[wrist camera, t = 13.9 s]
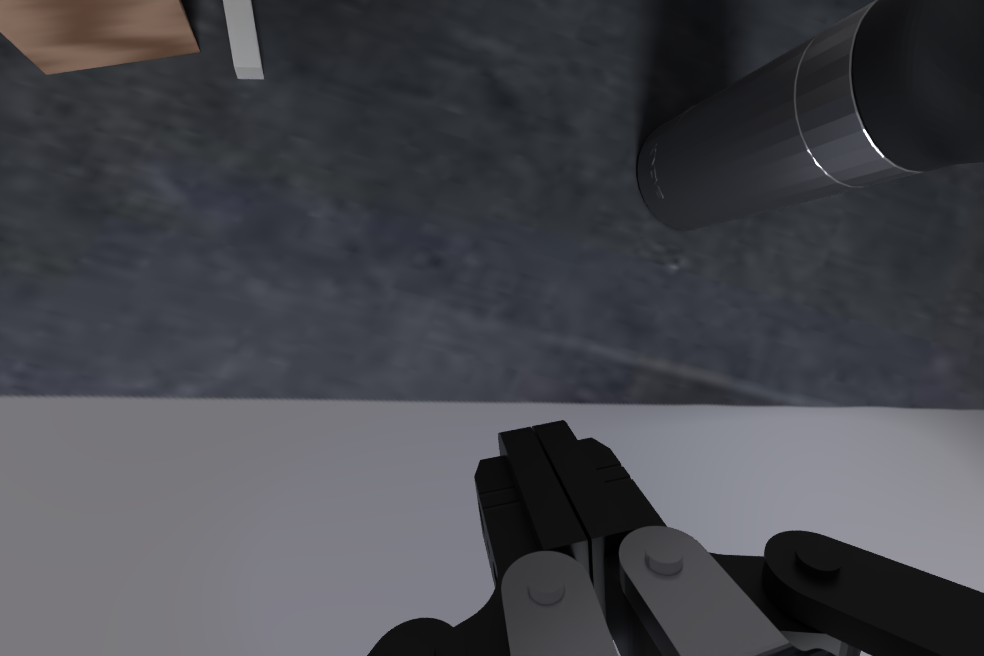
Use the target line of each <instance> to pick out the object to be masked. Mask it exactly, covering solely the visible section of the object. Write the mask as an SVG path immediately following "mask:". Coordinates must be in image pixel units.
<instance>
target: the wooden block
mask: <svg viewBox="0 0 984 656" xmlns="http://www.w3.org/2000/svg"><path fill="white" fill-rule="evenodd" d="M0 32H1V33H2V34H3V35H4V36H5V37H6V38H7V39H8V40H9V41H11V42H12V43H13V44H14V45H15V46H16V47H17V48H18V49H19V50H20V51H21V52H22V53H23V54H25V55H26V56H27V57H28V58H29V59H30V60H31V61H32V62H33V63H34V64H35V65H36V66H37V67H39V68H40V69H41V70H42V71H43V72H44V73H45V74H46V75H47V74H54V73H61V72H68V71H74V70H81V69H88V68H95V67H101V66H108V65H115V64H122V63H129V62H135V61H142V60H149V59H156V58H162V57H169V56H176V55H183V54H190V53H196V52H200V50H199V47H198V45H197V42H196V39H195V37H194V34H193V31H192V29H191V26H190V23H189V21H188V18H187V15H186V13H185V10H184V7H183V5H182V2H181V0H0Z"/></svg>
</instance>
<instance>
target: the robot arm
mask: <svg viewBox="0 0 984 656" xmlns="http://www.w3.org/2000/svg"><path fill="white" fill-rule="evenodd" d="M977 162H984V0H876V1H874V2H872V3H871V4H869V5H867V6H865V7H864V8H862V9H860V10H859V11H857V12H855V13H853V14H852V15H850V16H848V17H846V18H845V19H843V20H841V21H840V22H838V23H836V24H834V25H833V26H831V27H829V28H828V29H826V30H824V31H823V32H821V33H819V34H818V35H816V36H814V37H812V38H811V39H809V40H807V41H806V42H804V43H802V44H800V45H799V46H797V47H795V48H793V49H792V50H790V51H788V52H787V53H785V54H783V55H781V56H780V57H778V58H776V59H774V60H773V61H771V62H769V63H768V64H766V65H764V66H762V67H761V68H759V69H757V70H755V71H754V72H752V73H750V74H749V75H747V76H745V77H743V78H742V79H740V80H738V81H736V82H735V83H733V84H731V85H730V86H728V87H726V88H724V89H723V90H721V91H719V92H717V93H716V94H714V95H712V96H711V97H709V98H707V99H705V100H704V101H702V102H700V103H698V104H697V105H695V106H693V107H691V108H690V109H688V110H686V111H684V112H683V113H681V114H679V115H678V116H676V117H674V118H673V119H671V120H669V121H667V122H666V123H664V124H662V125H661V126H659V127H657V128H656V129H655V130H654V131H653V132H652V133H651V134H650V135H649V136H648V137H647V139H646V141H645V142H644V144H643V146H642V149H641V152H640V155H639V160H638V181H639V186H640V191H641V193H642V196H643V198H644V201H645V203H646V204H647V206H648V207H649V209H650V211H651V212H652V213H653V214H654V215H655V216H656V217H657V218H658V219H659V220H660V221H661V222H663V223H664V224H666V225H667V226H669V227H672V228H674V229H677V230H685V231H687V230H695V229H699V228H703V227H707V226H711V225H715V224H719V223H723V222H727V221H732V220H736V219H740V218H744V217H748V216H752V215H756V214H760V213H763V212H767V211H771V210H775V209H779V208H783V207H787V206H791V205H795V204H799V203H803V202H807V201H811V200H815V199H819V198H823V197H827V196H831V195H835V194H839V193H842V192H846V191H850V190H854V189H858V188H862V187H866V186H870V185H873V184H877V183H881V182H885V181H889V180H893V179H897V178H901V177H905V176H909V175H913V174H917V173H921V172H925V171H930V170H934V169H938V168H942V167H946V166H950V165H955V164H964V163H977ZM498 440H499V449H500V456H498V457H493V458H488V459H483V460H480V462H479V465H478V468H477V471H476V473H475V477H474V478H475V484H476V491H477V498H478V505H479V512H480V519H481V526H482V533H483V537H484V542H485V546H486V550H487V554H488V559H489V563H490V568H491V572H492V576H493V581H494V585H495V590H494V592H493V594H492V596H491V598H490V599H489V601H488V602H487V603H486V604H485V606H484V607H483V608H482V609H481V610H479V611H478V612H477V613H476V614H474V615H473V616H471V617H470V618H468V619H467V620H465V621H463V622H462V623H460V624H458V625H457V626H455V627H452V626H450V625H449V624H448V623H446V622H444V621H442V620H438V619H434V618H418V619H412V620H409V621H406V622H404V623H402V624H400V625H398V626H396V627H394V628H393V629H391V630H390V631H388V632H387V633H386V634H385V635H384V636H383V637H382V638H381V639H380V640H379V641H378V642H377V644H376V645H375V646H374V647H373V649H372V650H371V651H370V653H369V654H368V655H367V656H618V654H617V651H616V649H615V646H614V643H613V640H614V642H615V644H616V646H617V648H618V651H619V653H620V655H621V656H860V652H861V651H863V652H865V653H867V654H870V655H872V656H984V593H982V592H979V591H977V590H974V589H971V588H969V587H966V586H963V585H960V584H957V583H955V582H952V581H949V580H946V579H943V578H941V577H938V576H935V575H932V574H929V573H927V572H924V571H921V570H919V569H916V568H913V567H910V566H907V565H904V564H902V563H899V562H896V561H894V560H891V559H888V558H885V557H883V556H880V555H877V554H874V553H872V552H869V551H866V550H863V549H860V548H858V547H855V546H852V545H849V544H846V543H843V542H841V541H838V540H835V539H832V538H830V537H827V536H824V535H821V534H817V533H813V532H807V531H785V532H782V533H778V534H776V535H775V536H773V537H772V538H770V539H769V541H768V542H767V544H766V546H765V551H764V557H762V556H739V555H722V554H715V553H709V552H707V551H706V549H704V547H703V546H702V545H701V544H700V543H699V542H698V541H697V540H695V539H694V538H693V537H691V536H690V535H688V534H686V533H684V532H682V531H679V530H677V529H674V528H670V527H667V526H666V524H665V523H664V522H663V520H662V519H661V518H660V516H659V515H658V513H657V512H656V511H655V509H654V508H653V507H652V505H651V504H650V503H649V501H648V500H647V499H646V497H645V496H644V494H643V493H642V492H641V490H640V489H639V487H637V485H636V483H635V482H634V481H633V479H631V478H630V475H629V474H628V473H627V471H626V470H625V468H624V467H622V466H621V463H620V461H619V460H618V459H617V458H616V456H615V455H614V453H613V452H612V451H611V449H610V448H608V447H607V446H605V445H603V444H601V443H600V442H598V441H597V440H595V439H593V438H587V439H582V440H577V439H576V437H575V435H574V434H573V432H572V431H571V429H570V428H569V426H568V424H567V423H566V422H565V421H564V420H561V421H556V422H551V423H546V424H541V425H536V426H532V428H531V427H526V428H521V429H517V430H511V431H506V432H501V433H498Z"/></svg>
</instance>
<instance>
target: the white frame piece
mask: <svg viewBox="0 0 984 656" xmlns="http://www.w3.org/2000/svg"><path fill="white" fill-rule="evenodd" d="M223 3H224V9H225V15H226V21H227V27H228V33H229V39H230V45H231V51H232V57H233V63H234V68H235V71H236V74H237V77H238V79H264V75H263V69H262V63H261V57H260V51H259V45H258V39H257V33H256V27H255V21H254V15H253V9H252V2H251V0H223Z"/></svg>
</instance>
